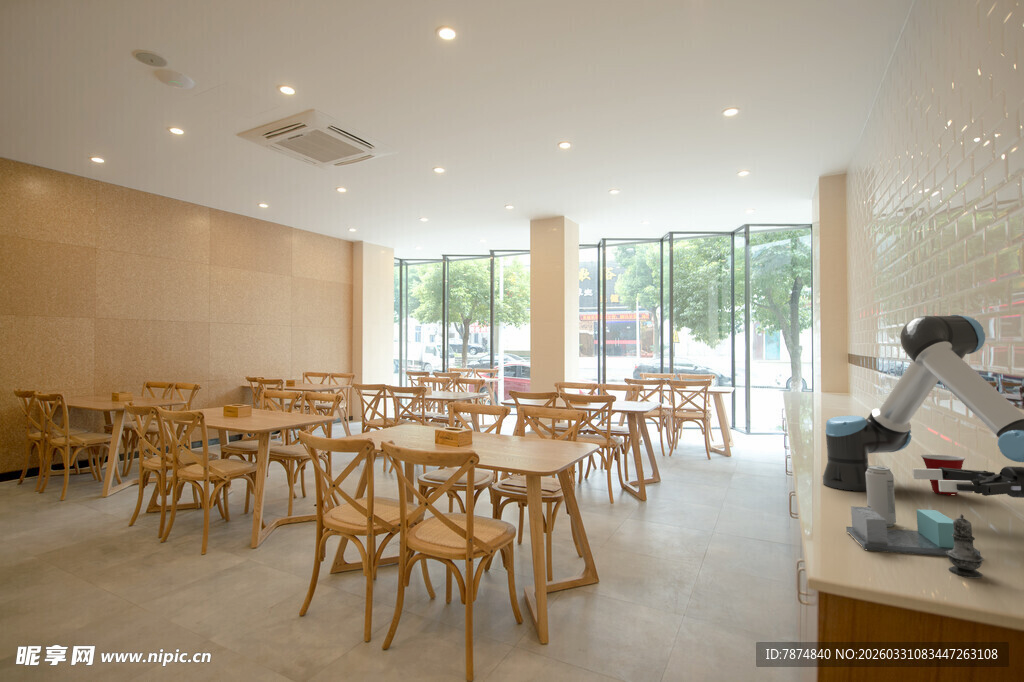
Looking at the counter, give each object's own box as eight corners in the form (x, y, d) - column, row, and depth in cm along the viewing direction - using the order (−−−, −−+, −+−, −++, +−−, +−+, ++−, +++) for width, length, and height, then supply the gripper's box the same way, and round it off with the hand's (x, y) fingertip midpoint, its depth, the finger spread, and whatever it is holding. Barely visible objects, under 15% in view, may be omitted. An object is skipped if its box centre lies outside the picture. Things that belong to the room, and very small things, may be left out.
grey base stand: (846, 532, 127) (845, 505, 128) (950, 538, 121) (948, 509, 121) (864, 550, 116) (863, 520, 116) (980, 558, 110) (978, 526, 110)
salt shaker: (939, 567, 106) (935, 510, 106) (964, 565, 106) (960, 509, 107) (966, 580, 100) (962, 519, 100) (993, 577, 100) (989, 517, 101)
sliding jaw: (917, 531, 122) (916, 509, 122) (937, 533, 121) (935, 510, 121) (939, 547, 113) (937, 522, 113) (960, 548, 111) (959, 523, 112)
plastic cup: (956, 489, 162) (954, 452, 162) (975, 498, 152) (972, 459, 152) (916, 487, 165) (914, 451, 166) (931, 496, 155) (929, 458, 156)
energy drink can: (871, 518, 137) (868, 464, 138) (898, 523, 133) (895, 467, 133) (865, 524, 133) (862, 467, 134) (893, 529, 129) (889, 471, 129)
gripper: (1067, 512, 112) (953, 507, 118) (996, 485, 135) (904, 482, 142) (1064, 478, 112) (950, 475, 118) (994, 457, 136) (902, 456, 142)
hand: (925, 479), depth 130 cm, fingers open, 13 cm apart
